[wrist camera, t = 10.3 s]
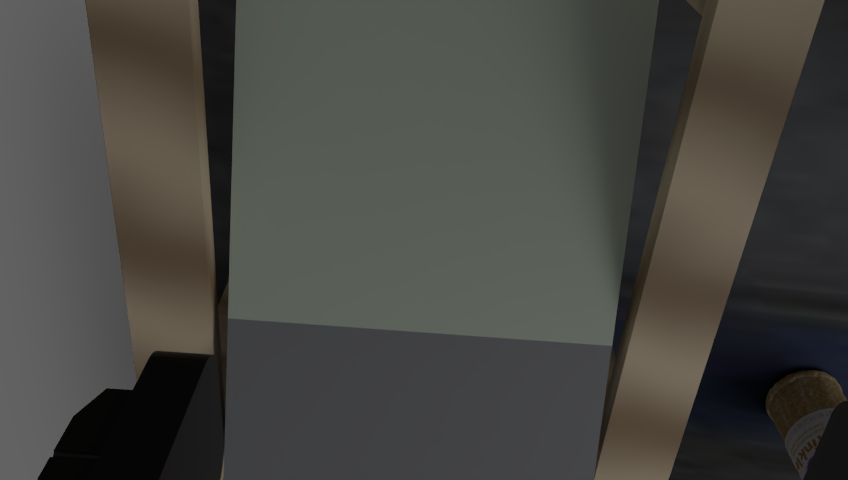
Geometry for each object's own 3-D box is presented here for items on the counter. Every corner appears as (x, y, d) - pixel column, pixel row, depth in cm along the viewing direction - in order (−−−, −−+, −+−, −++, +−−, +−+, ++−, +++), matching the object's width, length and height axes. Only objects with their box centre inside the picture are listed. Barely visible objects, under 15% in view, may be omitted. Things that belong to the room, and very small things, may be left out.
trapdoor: (571, 472, 34) (588, 517, 31) (242, 450, 34) (223, 493, 31) (634, -17, 30) (662, -26, 27) (258, -48, 30) (237, -62, 26)
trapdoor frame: (590, 347, 48) (644, 554, 35) (231, 321, 47) (155, 522, 35) (700, -133, 34) (848, -75, 22) (203, -177, 34) (66, -142, 21)
